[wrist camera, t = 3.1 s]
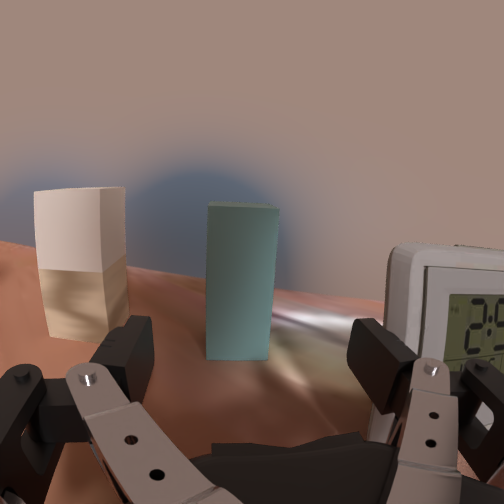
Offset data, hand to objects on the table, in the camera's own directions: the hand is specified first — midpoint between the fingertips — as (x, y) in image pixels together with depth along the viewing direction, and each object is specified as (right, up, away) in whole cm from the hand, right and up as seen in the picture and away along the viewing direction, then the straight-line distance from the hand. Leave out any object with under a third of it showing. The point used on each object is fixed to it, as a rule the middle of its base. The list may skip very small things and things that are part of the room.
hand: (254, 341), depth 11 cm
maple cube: (-15, -3, +13) cm, 20 cm away
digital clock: (+13, -7, +2) cm, 16 cm away
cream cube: (-14, +3, +12) cm, 18 cm away
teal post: (-1, -4, +12) cm, 13 cm away
